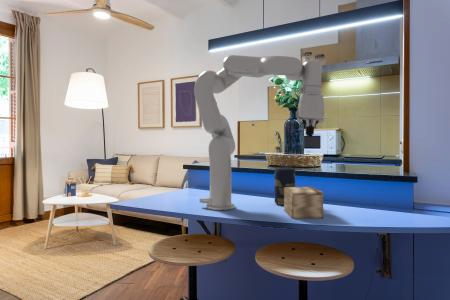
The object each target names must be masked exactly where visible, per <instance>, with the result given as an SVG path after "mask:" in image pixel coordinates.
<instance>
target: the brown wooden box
mask: <svg viewBox="0 0 450 300" xmlns="http://www.w3.org/2000/svg"><path fill="white" fill-rule="evenodd" d="M283 211H284V212H285V213H286V214H287V215H288V216H289V218H290V219H324V194H312V195H292V194H290V193H289V192H288V191H286V190H285V189H284V205H283Z"/></svg>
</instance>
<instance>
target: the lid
mask: <svg viewBox="0 0 450 300" xmlns="http://www.w3.org/2000/svg"><path fill="white" fill-rule="evenodd" d="M284 189H285V190H286V191H288V192H289V193H290V194H292V195H312V194H322V195H324V191H322V190H319V189H317V188H315V187H314V186H295V187H284Z"/></svg>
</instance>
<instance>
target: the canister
mask: <svg viewBox="0 0 450 300" xmlns="http://www.w3.org/2000/svg"><path fill="white" fill-rule="evenodd" d="M284 187H296V169H295V168H293V167H290V166H287V165H282V166H279V167H276V168H275V169H274V204H276V205H279V206H284Z"/></svg>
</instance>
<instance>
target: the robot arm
mask: <svg viewBox="0 0 450 300" xmlns="http://www.w3.org/2000/svg"><path fill="white" fill-rule="evenodd" d="M222 66H223V67H222V69H221V70H220V71H218V72H216V71H215V70H214V71H213V70H210V69H209V70H205V71H203V72H201V73H200V75H199V76H198V77H197V78H196V80H195V83H194V86H193V87H194V88H193V94H194V99H195V102H196V105H197V108H198V112H199V115H200V118H201V122H202V124H203V129H204V130H205V132H206V133H208V134H211V137H212V139H211V140H210V141H209V145H208V160H209V196H208V197H206V198H201V197H200V198H199V203H200V204H205V205H206V207H205V208H206V209H208V210H212V211H228V210H233V209H235V204H234V203H232V158H231V157H232V155H233V154H234V152H235V150H236V142H235V138H234V135H233V133H232V130H231V126H230V124H229V121H228V119H227V118H226V117H225V116H224V115H223V114H221V112H220V110H219V107H218V103H217V101H216V98H215V96H214V95H215V94H220V93H223V92H224V91H225V90H227V89H228V88H229V87H231V86H232V85H233V84H235V83H236V82H237V81H238V80H240V79H241V78H242V77H248V78H249V77H250V78H263V77H265V76H268V75H269V76H271V75H274V76H275V75H276V76H284V77H285V78H286V79H287V80H289V81H292V82H293V81H302V82H301V84H302V85H301V87H300V88H298V93H299V92H300V93H301V94H300V96H299V99H298V106H297V114H296V115H297V117H296V122H298V123H302V124H303V125H304V126H305V135H306V137H311V138H312V137H313V136H314V135H315V134H314V133H315V126H317V125H318V124H320V123H324V117H325V103H324V102H325V100H324V94H321V93H322V71H323V70H322V69H323V63H322V61H320V60H316V59H311V60H310V59H309V60H306V61H304V62H303V63H302V60H300V59H299V58H298V57H293V56H284V55H270V56H269V55H268V56H251V55H235V54H230V55H228V56H226V57H225V58H224V59H223V63H222ZM310 121H311V122H310Z"/></svg>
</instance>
